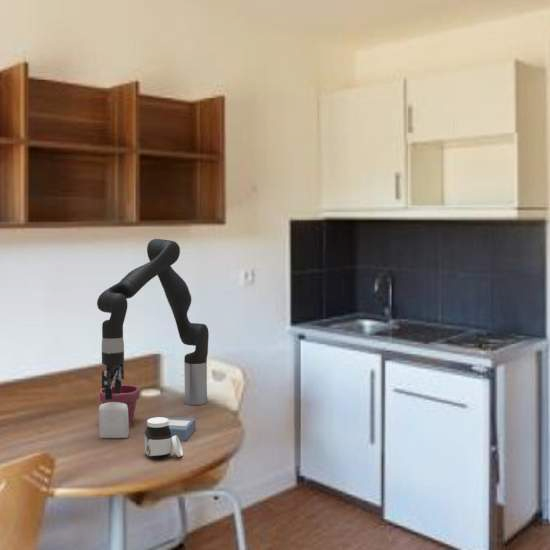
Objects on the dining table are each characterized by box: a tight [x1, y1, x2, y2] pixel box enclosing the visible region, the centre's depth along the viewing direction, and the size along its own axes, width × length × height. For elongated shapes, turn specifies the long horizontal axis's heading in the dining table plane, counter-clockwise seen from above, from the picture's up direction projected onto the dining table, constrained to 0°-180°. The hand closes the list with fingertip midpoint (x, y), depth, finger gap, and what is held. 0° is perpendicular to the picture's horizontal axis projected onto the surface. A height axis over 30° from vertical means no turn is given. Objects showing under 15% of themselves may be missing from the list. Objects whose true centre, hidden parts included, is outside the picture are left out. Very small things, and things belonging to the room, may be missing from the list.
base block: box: [162, 416, 197, 442], centre depth 235 cm, size 13×14×4 cm
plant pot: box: [99, 384, 140, 425], centre depth 247 cm, size 14×14×13 cm
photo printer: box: [98, 402, 130, 439], centre depth 231 cm, size 10×4×12 cm, turn 90°
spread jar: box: [144, 416, 184, 460], centre depth 213 cm, size 12×11×12 cm
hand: (113, 396), depth 230 cm, fingers open, 8 cm apart
